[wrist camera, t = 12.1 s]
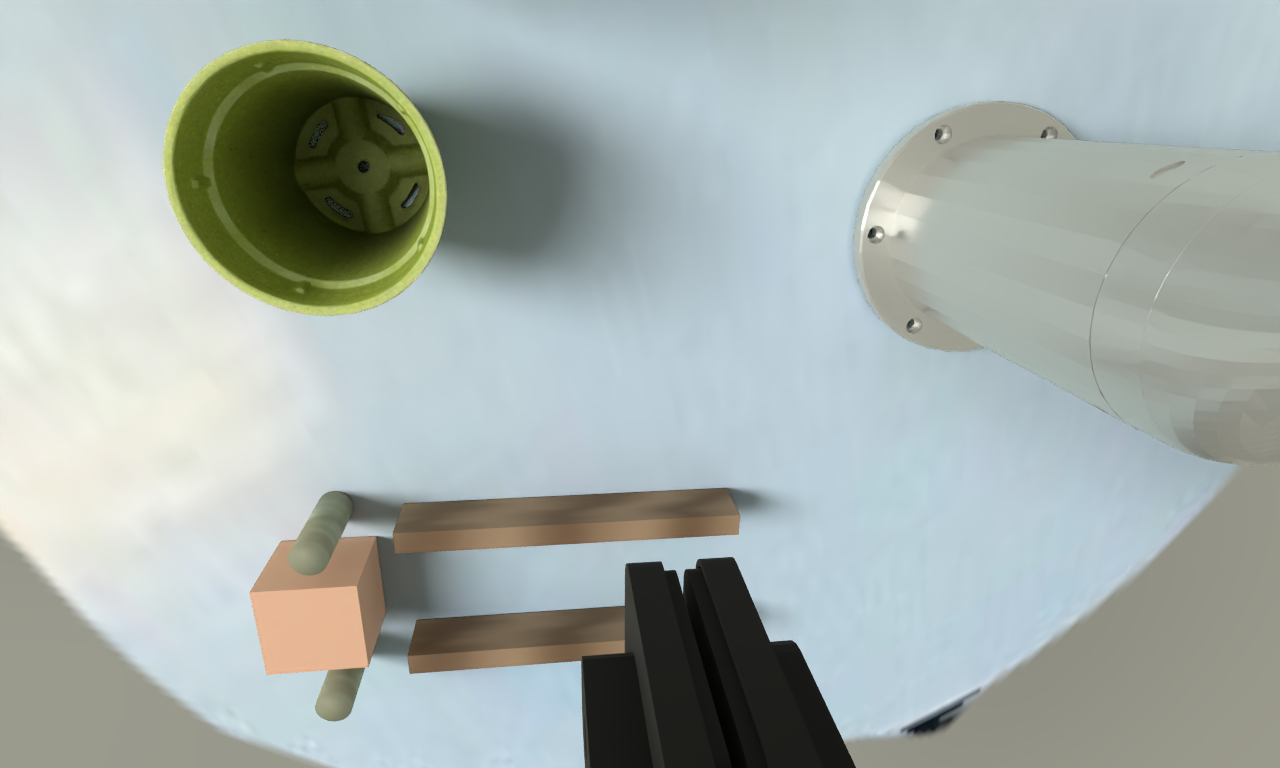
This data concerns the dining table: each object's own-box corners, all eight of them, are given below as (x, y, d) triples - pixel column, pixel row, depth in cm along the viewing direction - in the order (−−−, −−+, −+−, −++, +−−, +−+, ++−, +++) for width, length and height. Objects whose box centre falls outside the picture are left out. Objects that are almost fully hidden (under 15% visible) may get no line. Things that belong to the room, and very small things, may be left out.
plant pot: (407, 305, 36) (368, 362, 28) (219, 195, 33) (115, 223, 25) (507, 140, 34) (496, 151, 26) (315, 8, 31) (236, -26, 23)
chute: (727, 473, 42) (751, 519, 37) (718, 628, 45) (737, 687, 41) (316, 492, 39) (285, 544, 34) (342, 655, 43) (317, 722, 38)
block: (376, 536, 40) (356, 585, 36) (385, 611, 42) (368, 666, 38) (280, 541, 40) (249, 592, 35) (294, 617, 41) (266, 674, 37)
